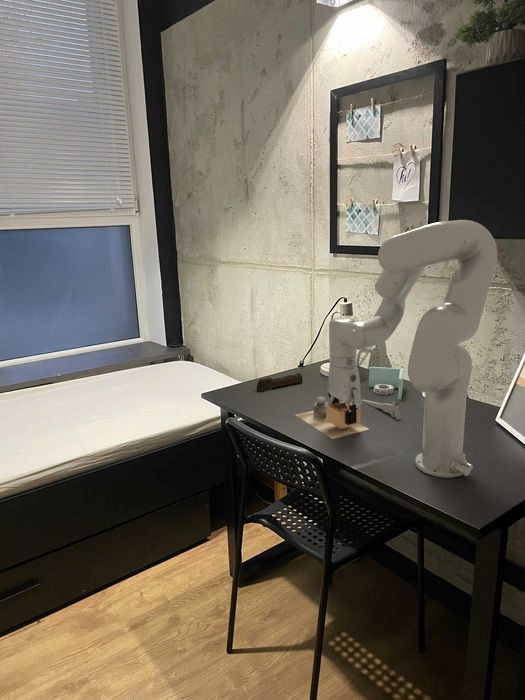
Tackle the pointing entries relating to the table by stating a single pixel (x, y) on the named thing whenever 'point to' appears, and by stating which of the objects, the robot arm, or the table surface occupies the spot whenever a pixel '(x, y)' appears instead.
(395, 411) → the caliper
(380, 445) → the table surface
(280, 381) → the hand tool
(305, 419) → the board
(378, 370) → the l-shaped corner panel
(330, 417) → the collar
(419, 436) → the table surface
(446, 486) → the table surface
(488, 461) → the table surface
